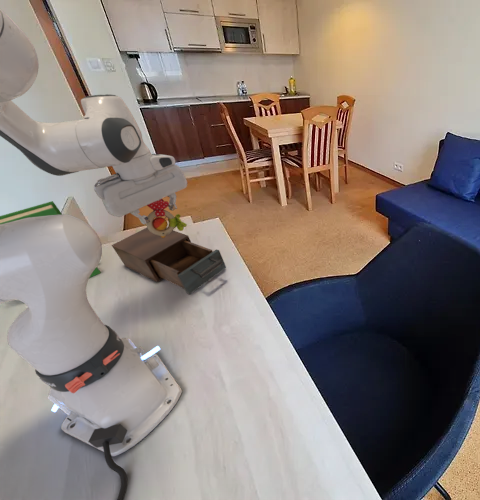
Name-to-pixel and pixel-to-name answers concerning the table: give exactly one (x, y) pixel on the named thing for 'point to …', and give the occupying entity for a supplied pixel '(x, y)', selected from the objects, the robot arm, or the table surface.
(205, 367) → the table surface
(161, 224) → the bird rattle
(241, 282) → the table surface
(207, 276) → the drawer
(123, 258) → the cabinet
